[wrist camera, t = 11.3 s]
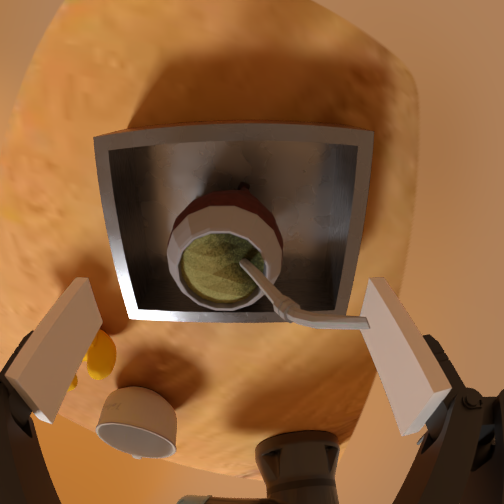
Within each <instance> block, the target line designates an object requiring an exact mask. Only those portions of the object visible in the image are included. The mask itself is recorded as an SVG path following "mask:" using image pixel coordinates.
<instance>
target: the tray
mask: <svg viewBox="0 0 504 504" xmlns="http://www.w3.org/2000/svg"><path fill="white" fill-rule="evenodd" d="M93 139H94V149H95V159H96V167H97V175H98V182H99V189H100V195H101V201H102V207H103V213H104V218H105V224H106V229H107V234H108V238H109V243H110V248H111V252H112V256H113V261H114V265H115V269H116V273H117V277H118V281H119V284H120V288H121V292H122V295H123V299H124V302H125V306H126V309H127V312H128V316H129V319H141V320H159V321H181V322H221V323H264V322H287V321H285V320H284V319H282V318H281V317H280V316H279V315H278V314H277V313H276V312H275V311H274V307H273V304H272V302H271V301H270V300H269V299H268V297H267V296H266V295H263V296H262V297H261V298H260V299H258V300H257V301H256V302H255V303H253V304H252V305H249V306H246V307H243V308H240V309H237V310H233V311H224V310H213V309H210V308H207V307H204V306H201V305H198V304H197V303H196V302H194V301H193V300H192V299H190V298H189V297H188V296H186V295H185V294H184V293H183V292H182V291H181V290H180V288H179V287H178V285H177V283H176V282H175V280H174V278H173V277H172V275H171V273H170V271H169V265H168V258H167V248H168V245H167V244H168V240H169V237H170V234H171V231H172V228H173V225H174V222H175V219H176V218H177V217H178V215H179V214H180V213H181V212H182V211H183V210H184V209H185V208H186V207H187V206H188V205H189V204H190V203H191V202H192V201H193V200H194V199H197V198H199V197H201V196H203V195H206V194H208V193H210V192H213V191H221V190H237V188H238V186H239V184H240V182H245V183H248V184H249V185H250V188H249V191H250V193H251V194H252V195H253V196H255V197H256V198H257V199H258V200H259V201H260V202H261V203H262V204H263V205H264V206H265V207H266V208H267V209H268V210H269V211H270V212H271V213H272V214H273V216H274V218H275V220H276V223H277V225H278V228H279V230H280V233H281V236H282V238H283V257H282V266H281V272H280V274H279V276H278V277H277V279H276V281H275V283H274V286H275V287H276V288H277V289H278V290H279V291H280V292H281V294H282V295H285V296H287V297H289V298H290V299H292V300H293V301H294V302H295V303H297V304H298V305H300V309H301V310H305V311H309V312H313V313H320V314H332V315H346V312H347V308H348V303H349V299H350V295H351V290H352V285H353V281H354V276H355V271H356V266H357V261H358V255H359V250H360V244H361V238H362V232H363V226H364V220H365V213H366V206H367V199H368V191H369V183H370V174H371V165H372V154H373V142H374V131H370V130H366V129H362V128H357V127H353V126H348V125H341V124H330V123H318V122H302V121H279V120H224V121H201V122H185V123H173V124H162V125H153V126H144V127H136V128H129V129H124V130H119V131H115V132H111V133H107V134H103V135H100V136H96V137H93Z"/></svg>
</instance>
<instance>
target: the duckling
mask: <svg viewBox="0 0 504 504" xmlns="http://www.w3.org/2000/svg"><path fill="white" fill-rule="evenodd" d="M83 361H87V370H88V373H89V375H90V376H91V377H92V378H93V379H96V380H101V379H104V378H105V377H107V376H108V375H110V373H111V372H112V370H113V368H114V365H115V361H116V347H115V344H114V342H113V340H112V339H111V337H110V336H109V335H108V334H107V333H105V332H104V331H102V330H101V329H99V330H98V332H97V334H96V336H95V337H94V339H93V341H92V343H91V345H90V347H89V349H88V351H87V353H86V354H85V356H84V358H83V360H82V362H83ZM77 382H78V381H77V376H76V374H75V376H74V378H73V380H72V382H71V384H70V386H69V389H68V391H70V390H73V389H74V388H75V387H76V386H77ZM68 391H67V392H68Z"/></svg>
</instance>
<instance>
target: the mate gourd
mask: <svg viewBox="0 0 504 504" xmlns="http://www.w3.org/2000/svg"><path fill="white" fill-rule="evenodd" d="M249 188H250V185H249V184H248V183H245V182H240V184H239V186H238V188H237V190H221V191H213V192H210V193H208V194H206V195H203V196H201V197H199V198H197V199H194V200H193V201H192V202H191V203H190V204H189V205H188V206H187V207H186V208H185V209H184V210H183V211H182V212H181V213H180V214H179V215H178V217H177V218H176V219H175V222H174V225H173V228H172V231H171V234H170V237H169V240H168V244H167V245H168V248H167V258H168V265H169V271H170V273H171V275H172V277H173V278H174V280H175V282H176V283H177V285H178V287H179V288H180V290H181V291H182V292H183V293H184V294H185V295H186V296H188V297H189V298H190V299H192V300H193V301H194V302H196V303H197V304H198V305H201V306H204V307H207V308H210V309H213V310H224V311H233V310H237V309H240V308H243V307H246V306H249V305H252V304H253V303H255V302H256V301H257V300H258V299H260V298H261V297H262V296H263V295H266V296H267V297H268V299H269V300H270V301H271V302H272V304H273V307H274V311H275V312H276V313H277V314H278V315H279V316H280V317H281V318H282V319H284V320H285V321H287V322H289V323H292V322H294V323H297V324H300V325H304V326H308V327H312V328H316V329H370V326H369V323H368V320H367V318H366V317H361V316H346V315H332V314H320V313H313V312H309V311H305V310H301V309H300V305H298V304H297V303H295V302H294V301H293V300H292V299H290V298H289V297H287V296H285V295H282V294H281V292H280V291H279V290H278V289H277V288H276V287H275V286H274V283H275V281H276V279H277V277H278V276H279V274H280V272H281V266H282V257H283V238H282V236H281V233H280V230H279V228H278V225H277V223H276V220H275V218H274V216H273V214H272V213H271V212H270V211H269V210H268V209H267V208H266V207H265V206H264V205H263V204H262V203H261V202H260V201H259V200H258V199H257V198H256V197H255V196H253V195H252V194H251V193H250V191H249Z"/></svg>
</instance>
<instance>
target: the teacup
mask: <svg viewBox="0 0 504 504" xmlns="http://www.w3.org/2000/svg"><path fill="white" fill-rule="evenodd" d="M176 431H177V418H176V413H175V411H174V409H173V407H172V406H171V405H170V404H169V403H168V402H167V401H166V400H165V399H164V398H163V397H162V396H161V395H159V394H158V393H156V392H154V391H152V390H150V389H147V388H143V387H136V386H132V387H126V388H121V389H117V390H115V391H114V392H112V393H111V394H110V395H109V396H108V397H107V399H106V401H105V404H104V406H103V409H102V412H101V415H100V419H99V423H98V425H97V426H96V433H97V435H98V436H99V437H100V438H101V439H102V440H103V441H104V442H105V443H107V444H108V445H110V446H112V447H114V448H115V449H118V450H120V451H122V452H125V453H129V454H132V457H134V458H136V459H141V458H142V457H147V458H165V457H169V456H171V455H173V454H174V453H175V452H176V446H175V445H176Z"/></svg>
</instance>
